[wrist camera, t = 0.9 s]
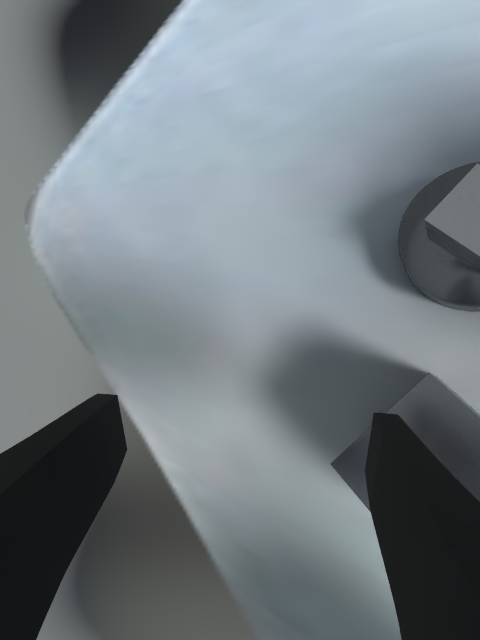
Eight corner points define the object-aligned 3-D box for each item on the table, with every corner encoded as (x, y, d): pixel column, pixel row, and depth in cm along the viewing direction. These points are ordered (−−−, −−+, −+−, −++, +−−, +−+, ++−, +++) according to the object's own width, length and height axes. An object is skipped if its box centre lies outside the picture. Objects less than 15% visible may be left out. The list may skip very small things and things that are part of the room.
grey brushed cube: (535, 463, 17) (570, 498, 12) (444, 535, 18) (439, 594, 13) (436, 376, 19) (429, 372, 14) (361, 444, 21) (330, 464, 16)
